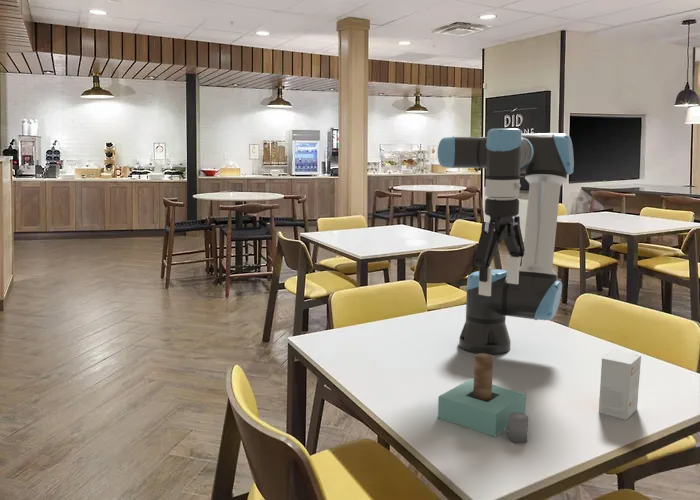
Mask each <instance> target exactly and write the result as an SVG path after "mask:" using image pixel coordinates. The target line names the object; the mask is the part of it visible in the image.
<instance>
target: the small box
mask: <svg viewBox="0 0 700 500" xmlns="http://www.w3.org/2000/svg"><path fill="white" fill-rule="evenodd" d="M641 363H642V355H641V354H636V353H633V352H632V353H631V352H627V351H622V350H615V349H613V350H611V351H610V352H608V353H607V354H606V355H605V356H603V357H602V358H601V367H600V369H601V371H600V385H599V386H600V387H599V400H598V401H599V402H598V413H599V414H602V415H606V416H609V417H612V418H617V419H621V420H625V421H627V420H629V418H630V417H631V416H632V415H634V413H635V412H636V411H637V410H638V404H639V403H638V402H639V388H640V375H641Z"/></svg>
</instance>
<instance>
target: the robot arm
mask: <svg viewBox="0 0 700 500" xmlns="http://www.w3.org/2000/svg"><path fill="white" fill-rule="evenodd" d="M486 134H487V135H486V136H479V137H478V136H450V137H443V138H441V139H440V141H439V142H438V147H437V162H438V164H439V165H440V166H441V167H443V168H449V169H485V186H484V187H485V188H484V191H485V192H484V196H485V197H487V198H486V199H484V214H485V215H486V216H488V217H489V222H488V221H483V222H481V233H480V236H479V239H478V244H477V248H476V252H475V255H474V259H473V261H472V262H473V265H474V266H475V267H478V268H479V269H478V271H474V272H471V273H470V274H469V275H468V277H467V282H466V287H465V288H466V300H465V301H466V303H465V305H466V307H465V322H464V323H463V324H464V325H463V327H462V330H461V332H460V335H459V341H458V344H459V345H458V346H459V347H460V348H461V349H462V350H464V351H468V352H470V353H475V354H479V353H485V354H490V355H496V354H497V355H498V354H503V353H507V352H508V351H510V349H511V343H512V342H511V338H510V334H509V331H508V327H507V324H506V317H507V316H508V317H511V318H512V317H514V318H521V319H522V318H523V319H528V320H529V319H530V320H534V321H550V320H552V319H554V317H555V316H556V314H557V311H558V309H559V305H560V302H561V297H562V294H563V293H562V292H563V291H562V290H563V283H562V281H560V280H558V273H557V272H556V271H555V270H554V269H553V266H554V265H553V264H554V255H555V254H554V253H555V244H556V236H557V235H556V234H557V224H558V214H559V213H558V212H559V206H560V205H559V204H560V203H559V202H560V195H561V194H560V193H561V186H562V185H564V183H566V182H567V178H568V176H569V175H571V174H573V173H574V167H575V160H574V159H575V158H574V157H575V156H574V148H573V146H574V145H573V142H572V138H571V136H570V135H568V134H567V133H563V132H562V133H559V132H557V133H556V132H543V133H541V132H538V133H535V132H534V133H533V132H531V133H522V131H521V129H520V128H490V129H488V131H487V133H486ZM521 174H524V176H525V177H524V179H525V181H527V183H528V185H529V189H528V198H527V199H528V200H527V207H526V219H525V227H524V237H523V234H522V228H521V224H520V223H521V220H520V219H521V218H520V216H519V213H520V200H519V199H518V197H519V196H520V188H521V187H522V185H521V183H520V181H521V179H520V178H521ZM502 241H503V242H504V244H505V246H506V248H507V251H508V253H509V255H507V262H506V263H507V264H506V265H507V266H506V270H505V269H500V268H499V269H493V267H492V266H491V264H492V261H493V259H494V256H495V254H496V251H497V248H498V246H499V245H500V243H502ZM520 259H521V265H520Z"/></svg>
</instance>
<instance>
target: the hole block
mask: <svg viewBox="0 0 700 500" xmlns="http://www.w3.org/2000/svg"><path fill="white" fill-rule="evenodd" d="M473 387H474V378H469V379H467V380H466V381H464V382H463V383H460V384H458V385H456V386H455V387H453V388H451V389H449V390H448V391H446V392H444V393H442V394H440V395H438V400H437V401H438V405H437V406H438V407H437V418H438V419H440V420H444V421H446V422H450V423H453V424H456V425H459V426H462V427H465V428H467V429H468V428H469V429H471V430H474V431H477V432H480V433H483V434H487V435H489V436H492V437H496V436H498V435H499V434H501V433H502V432H504V431H505V430H507V429H508V415H509V414H510V413H513V412H519V413H524V414H526V405H527V404H526V402H527V394H526V393H525V392H520V391H516V390H514V389H510V388H506V387H502V386H498V385H495V384H492V398H491V401H489V402H485V401H482V400H478V399H475V398H473Z"/></svg>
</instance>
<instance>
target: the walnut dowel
mask: <svg viewBox="0 0 700 500" xmlns="http://www.w3.org/2000/svg"><path fill="white" fill-rule="evenodd" d="M473 362H474V366H473V380H474V387H473V398H475V399H478V400H482V401H485V402H489V401H491V398H492V385H493V372H494V371H493V369H494V356H493V354H485V353H475V354H474V361H473Z"/></svg>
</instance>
